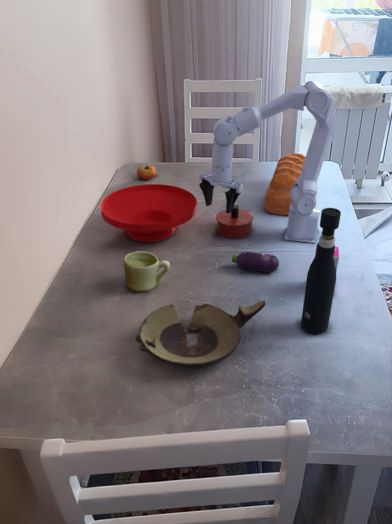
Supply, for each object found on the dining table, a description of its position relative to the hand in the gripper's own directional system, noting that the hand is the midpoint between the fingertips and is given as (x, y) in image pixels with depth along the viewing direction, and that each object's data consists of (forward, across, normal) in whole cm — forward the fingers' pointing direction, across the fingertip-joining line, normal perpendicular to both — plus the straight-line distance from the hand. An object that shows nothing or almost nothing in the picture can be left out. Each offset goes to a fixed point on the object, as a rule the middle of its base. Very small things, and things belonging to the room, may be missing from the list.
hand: (218, 208), depth 146 cm
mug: (+12, 0, -31) cm, 34 cm away
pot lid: (+6, +1, +8) cm, 10 cm away
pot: (+10, +1, +8) cm, 13 cm away
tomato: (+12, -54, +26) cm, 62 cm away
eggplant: (+10, +20, -8) cm, 23 cm away
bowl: (+12, -21, -7) cm, 26 cm away
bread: (+9, +3, +41) cm, 42 cm away
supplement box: (+9, +39, -6) cm, 40 cm away
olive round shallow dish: (+11, +28, -43) cm, 52 cm away
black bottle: (+9, +45, -22) cm, 51 cm away
